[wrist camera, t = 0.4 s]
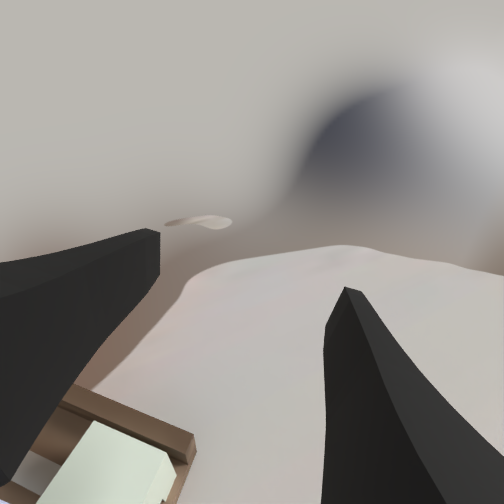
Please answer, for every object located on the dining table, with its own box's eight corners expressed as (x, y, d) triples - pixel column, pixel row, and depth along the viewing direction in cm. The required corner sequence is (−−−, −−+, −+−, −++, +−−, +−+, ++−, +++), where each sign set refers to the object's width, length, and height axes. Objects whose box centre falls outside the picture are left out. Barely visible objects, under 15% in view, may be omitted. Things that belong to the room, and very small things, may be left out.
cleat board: (111, 667, 14) (83, 693, 11) (-79, 547, 17) (-140, 542, 14) (196, 451, 22) (193, 434, 19) (56, 390, 24) (34, 367, 21)
